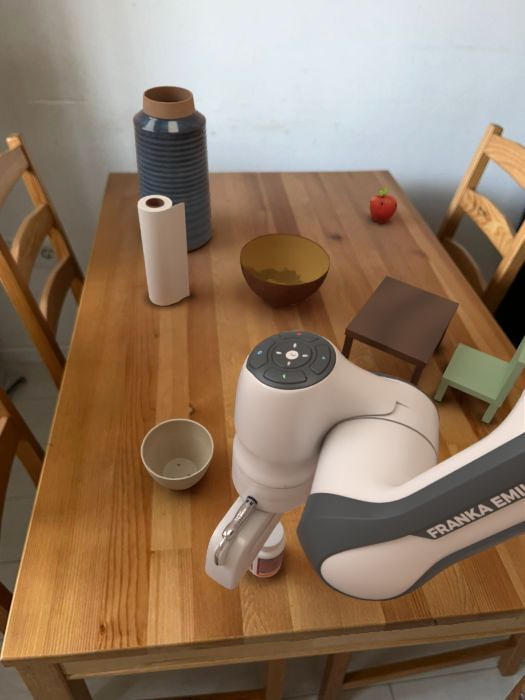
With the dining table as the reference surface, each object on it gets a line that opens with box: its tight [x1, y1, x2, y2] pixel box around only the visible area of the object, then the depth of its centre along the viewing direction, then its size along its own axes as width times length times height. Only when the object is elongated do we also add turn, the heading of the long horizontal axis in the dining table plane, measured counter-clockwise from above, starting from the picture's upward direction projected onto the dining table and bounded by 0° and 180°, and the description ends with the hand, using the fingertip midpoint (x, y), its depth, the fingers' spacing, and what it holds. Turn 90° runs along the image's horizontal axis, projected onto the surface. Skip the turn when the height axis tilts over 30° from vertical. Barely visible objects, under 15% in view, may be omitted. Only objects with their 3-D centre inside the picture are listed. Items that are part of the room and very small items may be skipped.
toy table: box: [341, 275, 460, 387], centre depth 92 cm, size 14×18×11 cm
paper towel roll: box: [137, 195, 190, 307], centre depth 97 cm, size 7×6×21 cm
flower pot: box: [140, 418, 215, 491], centre depth 73 cm, size 10×10×7 cm
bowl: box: [239, 232, 331, 308], centre depth 104 cm, size 18×18×10 cm
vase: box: [132, 85, 213, 252], centre depth 111 cm, size 16×16×32 cm
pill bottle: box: [248, 520, 286, 579], centre depth 65 cm, size 5×5×8 cm
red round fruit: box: [369, 188, 398, 224], centre depth 128 cm, size 8×7×10 cm
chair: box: [433, 335, 525, 425], centre depth 85 cm, size 10×10×15 cm
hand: (266, 528), depth 61 cm, fingers open, 8 cm apart
